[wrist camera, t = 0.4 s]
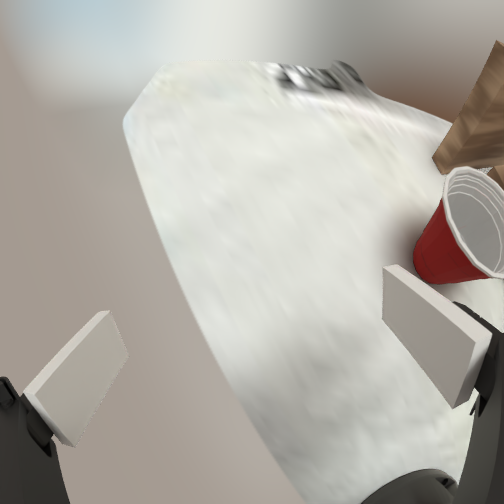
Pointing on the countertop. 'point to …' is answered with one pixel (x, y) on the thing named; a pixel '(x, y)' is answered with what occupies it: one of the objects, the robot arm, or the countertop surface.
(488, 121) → the wooden panel stand
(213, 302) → the countertop surface
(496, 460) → the robot arm
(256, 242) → the countertop surface
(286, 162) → the countertop surface
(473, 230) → the plastic cup
